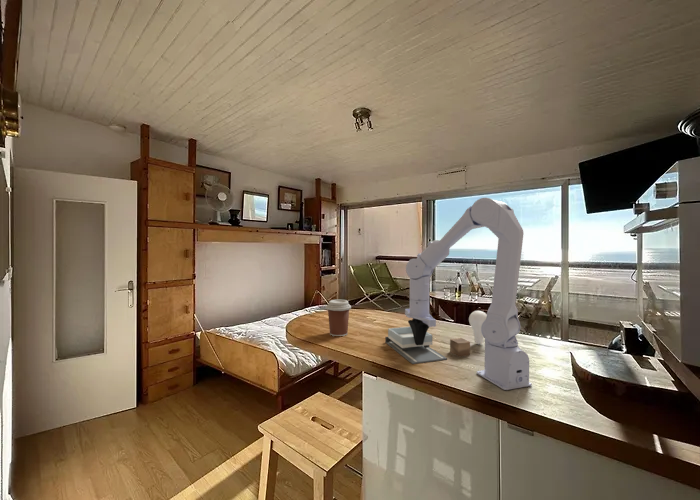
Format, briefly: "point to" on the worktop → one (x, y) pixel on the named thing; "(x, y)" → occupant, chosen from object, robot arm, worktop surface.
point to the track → (416, 353)
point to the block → (460, 347)
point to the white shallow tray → (407, 337)
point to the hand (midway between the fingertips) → (419, 344)
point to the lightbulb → (477, 325)
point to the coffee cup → (338, 317)
